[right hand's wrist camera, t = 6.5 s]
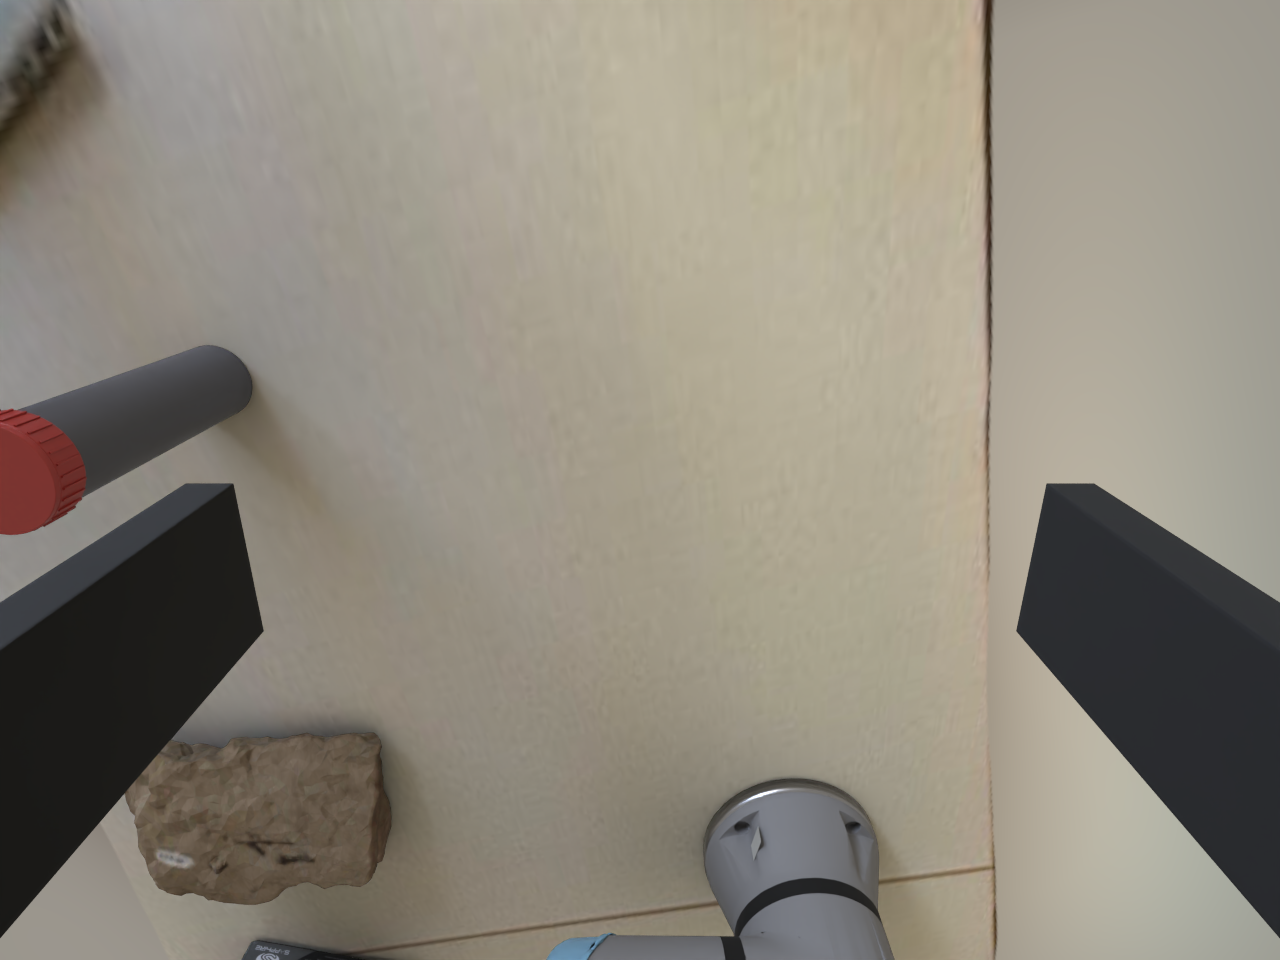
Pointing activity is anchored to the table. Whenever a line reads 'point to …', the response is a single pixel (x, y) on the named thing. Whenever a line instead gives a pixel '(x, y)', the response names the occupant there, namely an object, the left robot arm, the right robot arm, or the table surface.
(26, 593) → the right robot arm
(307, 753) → the stone
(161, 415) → the dark grey bottle
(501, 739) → the table surface
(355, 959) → the graphics card box
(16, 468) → the lid
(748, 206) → the table surface
